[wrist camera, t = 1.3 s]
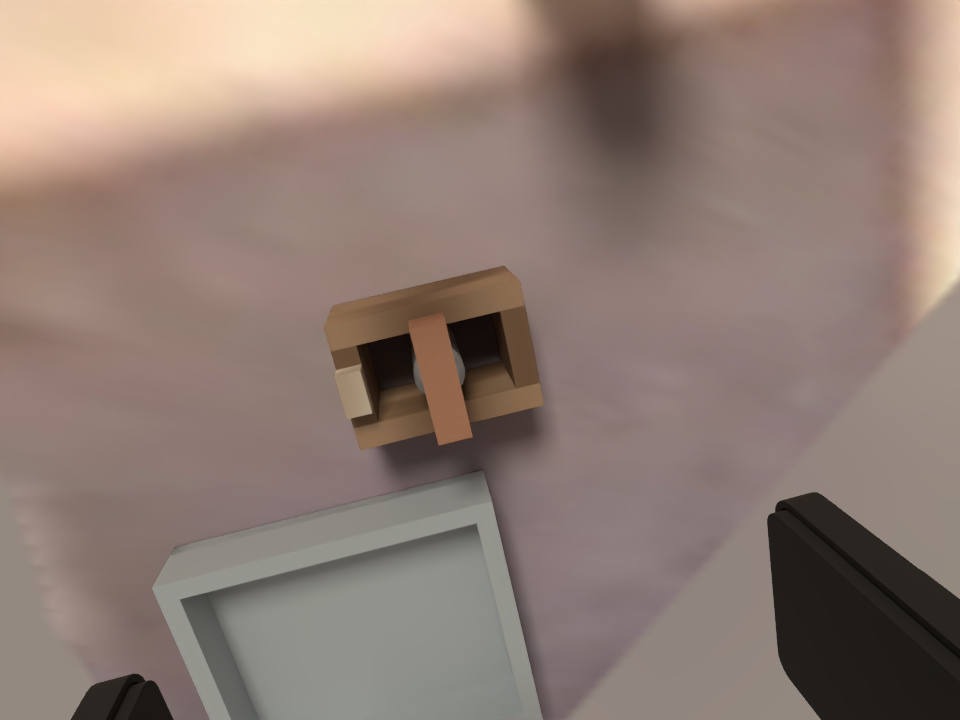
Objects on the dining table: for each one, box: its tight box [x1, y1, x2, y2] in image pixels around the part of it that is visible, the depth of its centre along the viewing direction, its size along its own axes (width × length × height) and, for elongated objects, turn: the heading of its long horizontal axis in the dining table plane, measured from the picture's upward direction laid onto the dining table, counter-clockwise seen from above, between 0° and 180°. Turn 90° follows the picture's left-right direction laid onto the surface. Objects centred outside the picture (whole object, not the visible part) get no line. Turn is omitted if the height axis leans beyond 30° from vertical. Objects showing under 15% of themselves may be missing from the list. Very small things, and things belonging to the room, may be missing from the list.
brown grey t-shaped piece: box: [408, 313, 473, 445], centre depth 24 cm, size 2×4×5 cm, turn 12°
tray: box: [152, 470, 543, 720], centre depth 29 cm, size 14×12×3 cm
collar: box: [324, 266, 544, 450], centre depth 25 cm, size 7×5×4 cm
